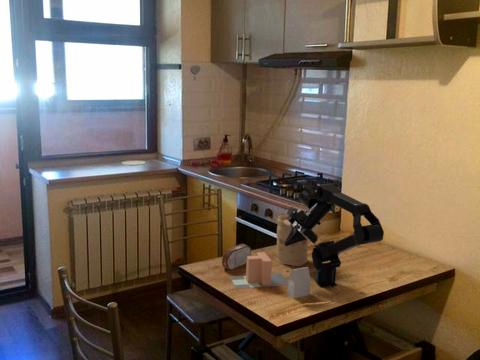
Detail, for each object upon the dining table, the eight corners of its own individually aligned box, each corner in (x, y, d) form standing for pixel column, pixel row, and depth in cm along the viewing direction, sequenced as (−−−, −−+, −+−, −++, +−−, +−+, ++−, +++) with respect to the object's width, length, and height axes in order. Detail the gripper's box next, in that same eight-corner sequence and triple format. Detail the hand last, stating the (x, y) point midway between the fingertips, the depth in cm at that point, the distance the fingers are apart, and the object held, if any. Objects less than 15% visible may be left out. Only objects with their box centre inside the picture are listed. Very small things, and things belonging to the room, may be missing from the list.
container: (308, 267, 201) (310, 223, 197) (276, 266, 201) (278, 222, 197) (305, 256, 213) (307, 214, 209) (275, 255, 213) (277, 213, 210)
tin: (245, 261, 206) (246, 241, 205) (252, 262, 204) (252, 242, 203) (221, 271, 195) (221, 250, 193) (227, 273, 193) (227, 252, 191)
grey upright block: (309, 296, 175) (311, 268, 173) (293, 300, 172) (294, 271, 170) (303, 292, 178) (305, 265, 176) (287, 295, 175) (288, 268, 173)
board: (280, 274, 193) (281, 273, 193) (290, 286, 183) (290, 284, 183) (229, 278, 188) (229, 276, 188) (236, 290, 178) (236, 288, 178)
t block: (263, 275, 191) (264, 252, 189) (270, 284, 182) (271, 260, 180) (243, 276, 189) (244, 253, 187) (250, 286, 180) (251, 262, 178)
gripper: (292, 193, 192) (263, 223, 191) (311, 206, 174) (278, 239, 174) (311, 213, 195) (282, 242, 195) (331, 227, 178) (299, 259, 177)
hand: (285, 245), depth 185 cm, fingers closed
